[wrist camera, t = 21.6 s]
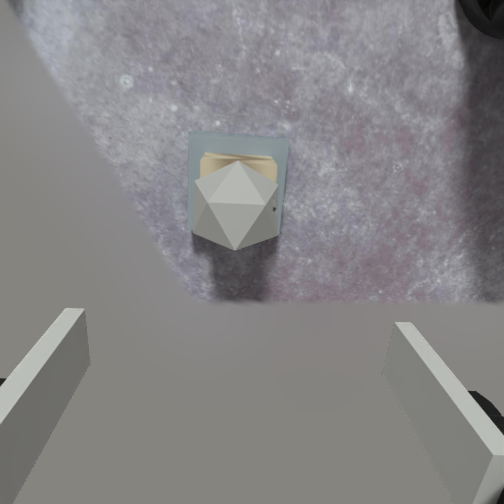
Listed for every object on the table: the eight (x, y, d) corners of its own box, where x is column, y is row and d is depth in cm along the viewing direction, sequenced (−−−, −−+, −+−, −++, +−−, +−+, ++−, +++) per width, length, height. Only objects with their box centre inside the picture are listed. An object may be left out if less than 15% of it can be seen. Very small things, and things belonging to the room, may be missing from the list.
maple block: (271, 156, 45) (277, 165, 39) (265, 219, 48) (270, 237, 42) (205, 152, 45) (200, 160, 38) (203, 216, 48) (199, 234, 41)
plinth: (285, 138, 48) (289, 140, 45) (275, 226, 53) (279, 235, 49) (192, 131, 47) (188, 133, 44) (190, 221, 52) (187, 229, 48)
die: (243, 250, 43) (300, 253, 35) (173, 248, 38) (221, 250, 30) (246, 179, 43) (304, 165, 35) (175, 167, 38) (224, 148, 30)
